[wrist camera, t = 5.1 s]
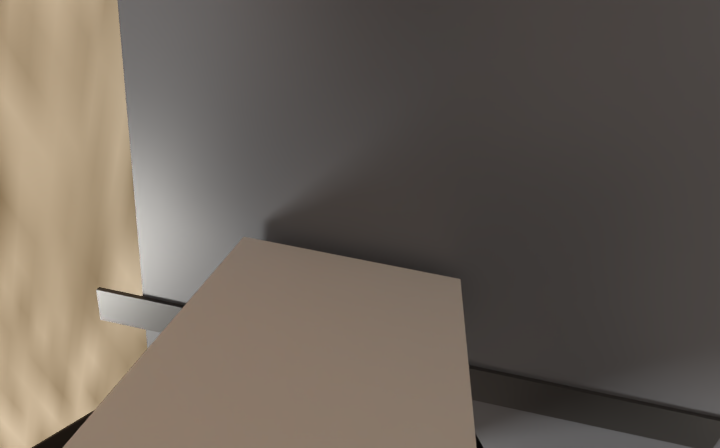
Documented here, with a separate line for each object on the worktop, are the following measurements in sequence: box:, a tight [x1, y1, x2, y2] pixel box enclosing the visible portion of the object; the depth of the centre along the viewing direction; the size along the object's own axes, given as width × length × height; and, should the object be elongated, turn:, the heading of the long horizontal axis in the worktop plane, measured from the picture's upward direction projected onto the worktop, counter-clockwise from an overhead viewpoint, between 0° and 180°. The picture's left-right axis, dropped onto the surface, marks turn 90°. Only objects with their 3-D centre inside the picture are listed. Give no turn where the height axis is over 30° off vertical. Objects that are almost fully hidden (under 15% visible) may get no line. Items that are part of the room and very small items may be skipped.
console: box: [96, 0, 720, 448], centre depth 9 cm, size 16×18×3 cm
